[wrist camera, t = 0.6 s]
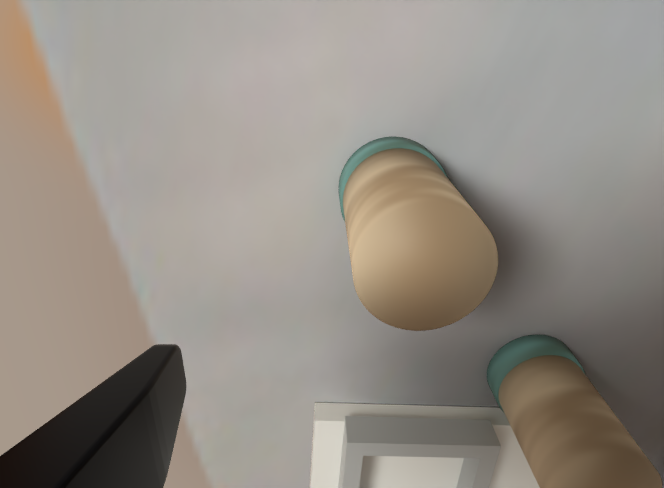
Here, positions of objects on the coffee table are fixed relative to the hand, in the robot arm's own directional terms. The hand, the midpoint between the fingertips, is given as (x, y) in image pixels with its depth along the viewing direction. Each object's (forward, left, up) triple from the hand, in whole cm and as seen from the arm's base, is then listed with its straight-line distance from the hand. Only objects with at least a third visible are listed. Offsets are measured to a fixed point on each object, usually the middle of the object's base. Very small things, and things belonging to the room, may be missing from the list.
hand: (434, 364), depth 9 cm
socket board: (-5, +19, -12) cm, 23 cm away
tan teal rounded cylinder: (-1, +1, -12) cm, 12 cm away
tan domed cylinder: (-9, +10, -12) cm, 18 cm away
